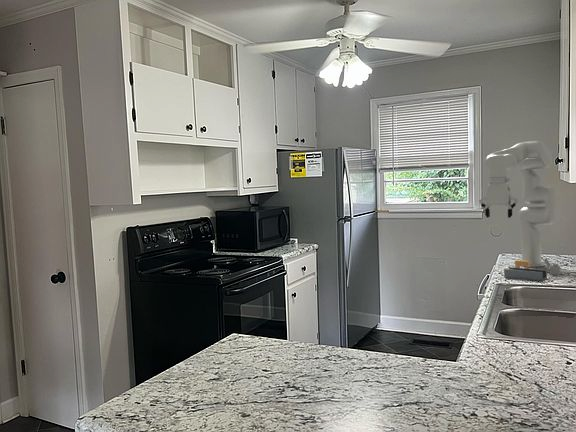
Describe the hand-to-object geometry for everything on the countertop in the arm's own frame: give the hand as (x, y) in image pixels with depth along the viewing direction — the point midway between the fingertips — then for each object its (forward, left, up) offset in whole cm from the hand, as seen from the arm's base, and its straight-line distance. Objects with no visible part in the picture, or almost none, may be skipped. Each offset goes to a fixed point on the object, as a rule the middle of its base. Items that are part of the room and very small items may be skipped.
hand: (498, 217), depth 229 cm
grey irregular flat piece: (-23, +16, -30) cm, 41 cm away
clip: (-21, +3, -30) cm, 37 cm away
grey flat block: (-9, +8, -30) cm, 32 cm away
